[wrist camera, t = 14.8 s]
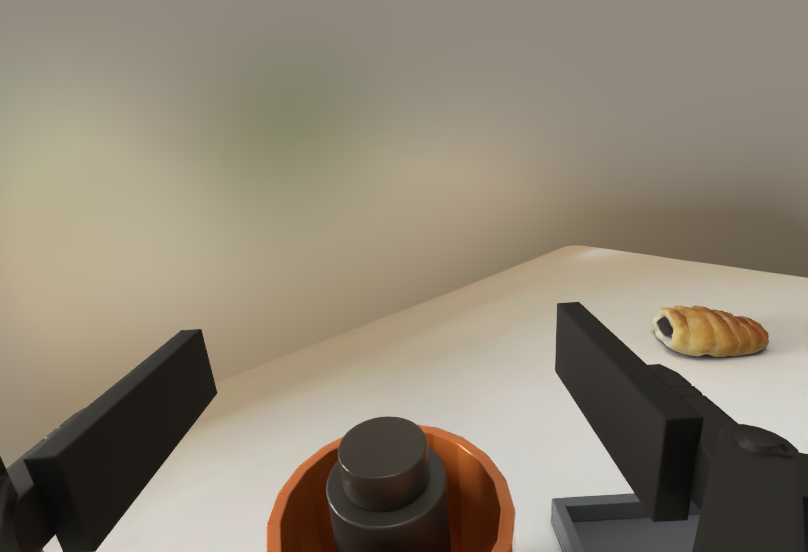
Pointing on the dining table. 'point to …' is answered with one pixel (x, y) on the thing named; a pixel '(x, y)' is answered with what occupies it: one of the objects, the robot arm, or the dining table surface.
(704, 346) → the pastry
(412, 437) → the pepper mill
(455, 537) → the pot
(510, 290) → the dining table surface
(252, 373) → the dining table surface
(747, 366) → the dining table surface
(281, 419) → the dining table surface
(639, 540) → the tray
